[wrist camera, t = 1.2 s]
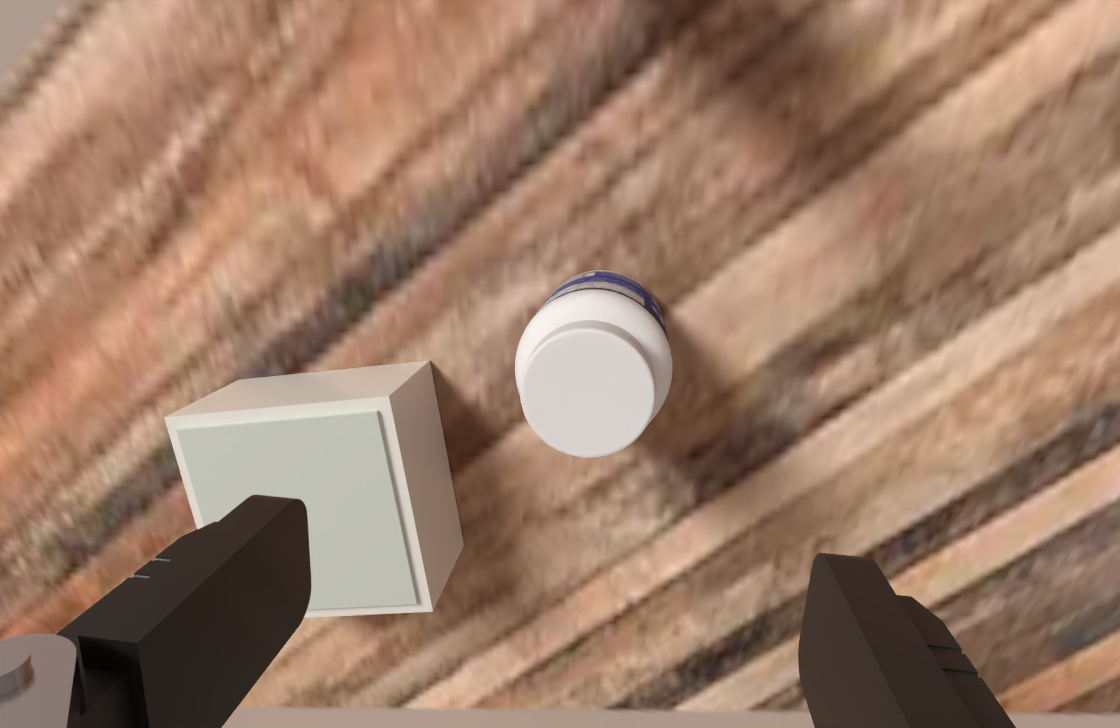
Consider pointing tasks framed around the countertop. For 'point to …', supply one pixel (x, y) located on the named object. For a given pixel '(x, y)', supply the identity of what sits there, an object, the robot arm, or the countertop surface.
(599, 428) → the pill bottle
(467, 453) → the countertop surface
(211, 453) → the pedestal
